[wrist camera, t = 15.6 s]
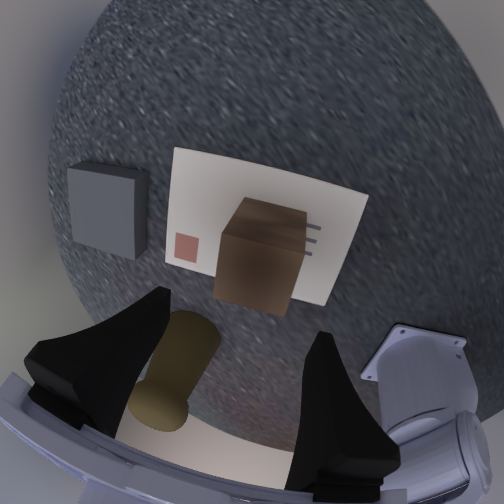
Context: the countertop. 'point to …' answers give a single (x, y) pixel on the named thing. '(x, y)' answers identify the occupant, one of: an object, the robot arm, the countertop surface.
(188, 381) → the cork
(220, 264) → the walnut block
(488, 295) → the countertop surface
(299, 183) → the letter
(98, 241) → the metal block
